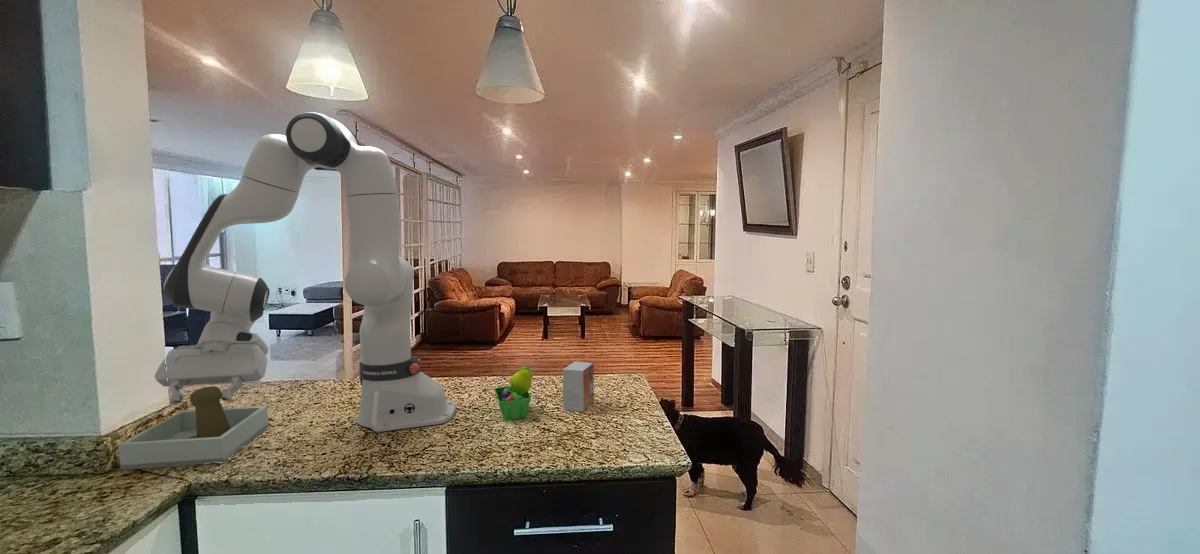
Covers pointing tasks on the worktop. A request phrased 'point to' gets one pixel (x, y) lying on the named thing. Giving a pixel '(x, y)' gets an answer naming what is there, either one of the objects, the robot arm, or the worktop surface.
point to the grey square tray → (191, 440)
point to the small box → (578, 386)
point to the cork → (209, 412)
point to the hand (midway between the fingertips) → (200, 400)
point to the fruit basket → (515, 395)
